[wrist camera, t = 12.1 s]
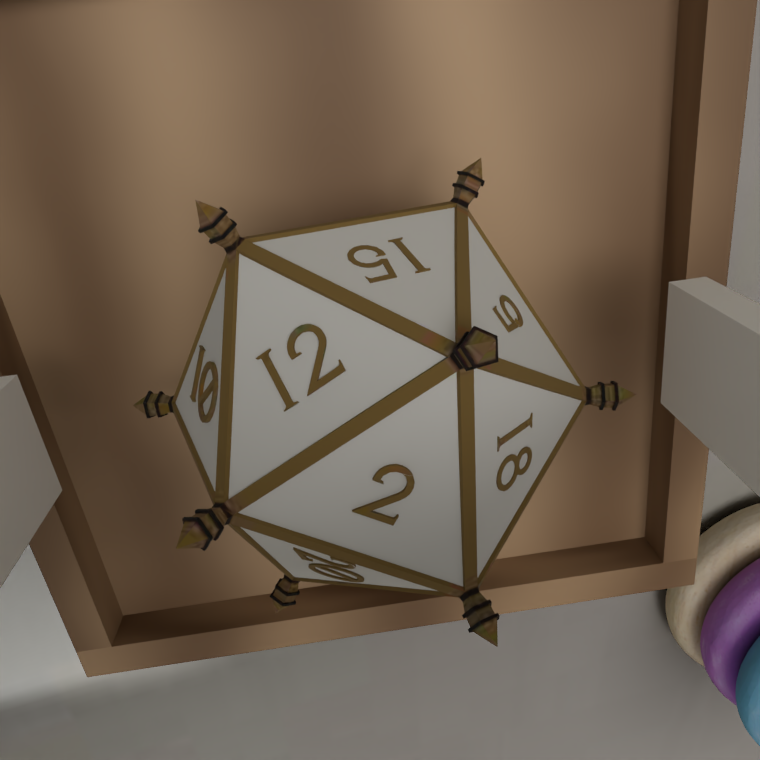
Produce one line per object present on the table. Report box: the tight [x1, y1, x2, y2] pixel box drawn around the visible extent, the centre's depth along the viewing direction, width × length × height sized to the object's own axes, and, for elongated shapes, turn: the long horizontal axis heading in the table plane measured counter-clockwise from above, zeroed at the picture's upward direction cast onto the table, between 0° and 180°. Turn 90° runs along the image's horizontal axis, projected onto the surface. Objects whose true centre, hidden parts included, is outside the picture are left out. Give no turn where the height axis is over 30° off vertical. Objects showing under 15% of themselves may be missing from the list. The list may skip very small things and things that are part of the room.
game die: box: [133, 158, 636, 646], centre depth 13 cm, size 9×8×10 cm
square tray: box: [0, 0, 757, 677], centre depth 17 cm, size 18×18×4 cm
